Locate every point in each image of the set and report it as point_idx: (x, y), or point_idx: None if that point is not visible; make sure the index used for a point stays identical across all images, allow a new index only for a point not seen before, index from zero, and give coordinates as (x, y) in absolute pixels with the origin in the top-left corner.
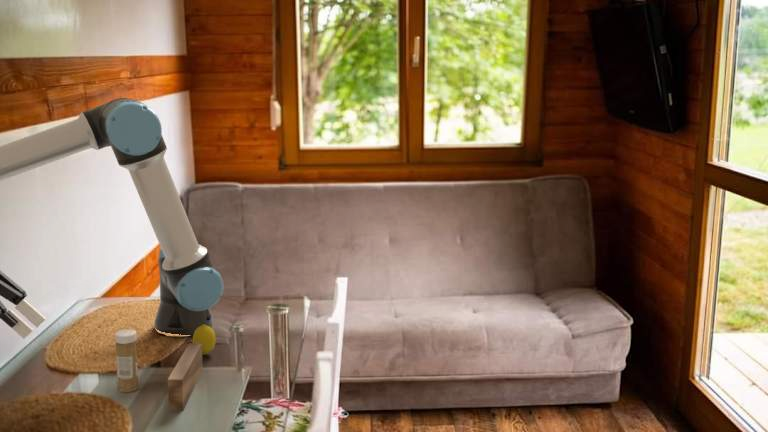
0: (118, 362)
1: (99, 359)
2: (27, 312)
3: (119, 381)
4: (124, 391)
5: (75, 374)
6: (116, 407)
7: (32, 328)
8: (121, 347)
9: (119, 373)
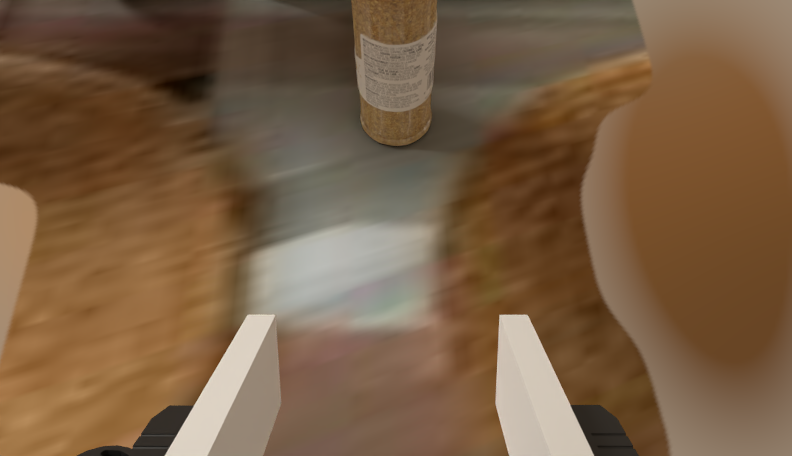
0: (427, 54)
1: (96, 293)
2: (243, 452)
3: (422, 111)
4: (431, 118)
5: None
6: (540, 117)
7: (504, 319)
8: None
9: (427, 86)
